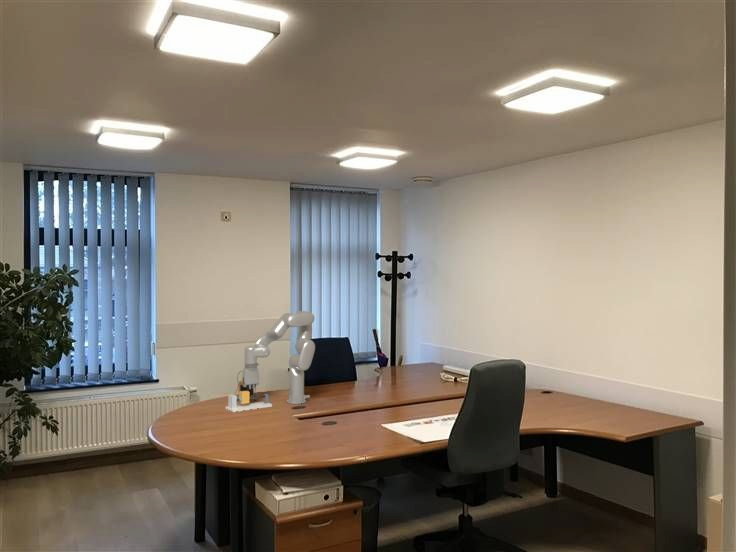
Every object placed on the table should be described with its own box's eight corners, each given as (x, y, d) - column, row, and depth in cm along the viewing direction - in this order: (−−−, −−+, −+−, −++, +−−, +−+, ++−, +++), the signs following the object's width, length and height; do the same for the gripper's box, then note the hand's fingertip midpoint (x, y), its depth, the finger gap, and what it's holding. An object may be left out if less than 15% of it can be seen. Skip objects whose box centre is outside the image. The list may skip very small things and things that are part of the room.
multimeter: (258, 398, 390) (259, 369, 390) (254, 402, 381) (255, 371, 380) (237, 398, 392) (238, 368, 392) (232, 401, 382) (233, 370, 382)
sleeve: (246, 401, 365) (246, 390, 365) (249, 402, 362) (249, 391, 362) (239, 402, 362) (239, 391, 362) (242, 403, 359) (242, 392, 359)
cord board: (264, 403, 377) (264, 389, 377) (272, 406, 369) (272, 392, 369) (225, 409, 360) (225, 394, 360) (233, 412, 352) (233, 397, 352)
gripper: (258, 364, 372) (258, 392, 373) (237, 366, 363) (237, 395, 363) (264, 365, 367) (264, 394, 367) (242, 368, 357) (242, 398, 357)
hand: (250, 395), depth 365 cm, fingers closed
